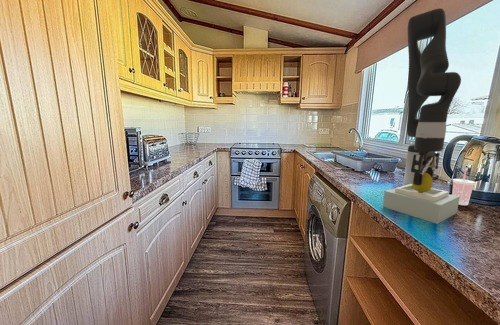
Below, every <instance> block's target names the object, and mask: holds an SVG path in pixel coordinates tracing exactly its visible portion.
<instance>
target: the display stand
mask: <svg viewBox="0 0 500 325" xmlns="http://www.w3.org/2000/svg"><path fill="white" fill-rule="evenodd" d="M459 198H460V196H455V195H452V194H450V192H449V191H448V190H442V189H438V188H434V187H432V188H431V189H430V190H429V191H427V192H424V193H419V192H418V191H416V190H415V189H414V188H413V186H412V184H408V185H404V186H403V185H401V186H397V187H395V188H391V189H387V190H385V191H384V194H383V201H382V202H383V203H382V207H383V208H385V209H389V210H392V211H395V212H398V213H400V214H401V213H402V214H405V215H408V216H411V217H414V218H418V219H421V220H424V221H427V222H430V223H433V224H436V225H437V224H440V223H441V222H443V221H446V220H448V219H449V218H451V217H453V216H454V215H456V214H458V213H457V212H458V208H459V204H458V203H459Z"/></svg>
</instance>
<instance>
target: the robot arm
mask: <svg viewBox="0 0 500 325" xmlns="http://www.w3.org/2000/svg"><path fill="white" fill-rule="evenodd" d="M446 18H447V16H446V12H445V10H444V9H443V8H440V7H439V8H434V9H432V10H429V11H426V12H423V13H419V14H416V15H414V16H411V17H410V18H409V20H408V22H407V30H406V32H407V33H406V34H407V47H408V48H407V49H408V50H407V51H408V72H407V73H408V79H407V90H408V91H407V93H408V94H407V95H408V96H407V97H408V99H407V100H408V101H407V102H408V109H407V110H408V111H407V120H406V121H407V122H406V134H407V136H408V137H409V138H414V139H415V140H414V144H410V145H408V147H407V152H406V161H405V168H404V176H403V184H402V186H404V185H408V184H412V180H413V178H414V180H413V184H414V185H422V179H423V173H424V172H426V173H428V174H429V175H430V176H431V177H432V180H434V173H435V171H436V170H437V169H438V168H439V162H440V156H441V153H440V152H442V151H444V150H443V149H444V144H445V138H446V133H447V120H448V113H449V109H450V106H451V104H452V102H453V99H454V98H455V96H456V94H457V93H458V90H459V88H460V86H461V84H462V83H461V82H462V77H461V75H460V73H458V72H455V71H450V72H449V71H448V70H449V66H450V63H449V56H448V52H447V46H446V45H447V19H446ZM431 38H432V39H431ZM427 39H431V40H430V41H429V42H428V43H427V45H426V46H425V47H424V48H423V50H422V51H421V49H420V47H419V42H420V41H422V40H427ZM447 71H448V72H447ZM430 97H440V98H439V100H438V101H436V102H432V103H428V104H424V103H426V101H427V100H428V98H430ZM418 113H419V117H418Z"/></svg>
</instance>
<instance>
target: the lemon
mask: <svg viewBox="0 0 500 325" xmlns="http://www.w3.org/2000/svg"><path fill="white" fill-rule="evenodd" d="M413 180H414V178H413ZM413 180H412V186H413V188H414V189H415V190H416V191H418V192H419V193H424V192H427V191H429V190H430V189H431V188H433V182H434V181H433V180H434V179H433V180H432V177H431V176H430V175H429V174H428V173H426V172H424V173H423V179H422V185H414V184H413Z"/></svg>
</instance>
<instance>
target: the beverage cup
mask: <svg viewBox="0 0 500 325" xmlns="http://www.w3.org/2000/svg"><path fill="white" fill-rule="evenodd" d="M464 168H465V169H464V172H463V177H462V178H452V193H451V195H455V196H460V198H459V203H458V206H459V205H460V206H468V205H469V203H470V198H471V196H472V192H473V188H474V186H475V184H476V181H473V180H469V179H466V176H467V171H468V167H464Z"/></svg>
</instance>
